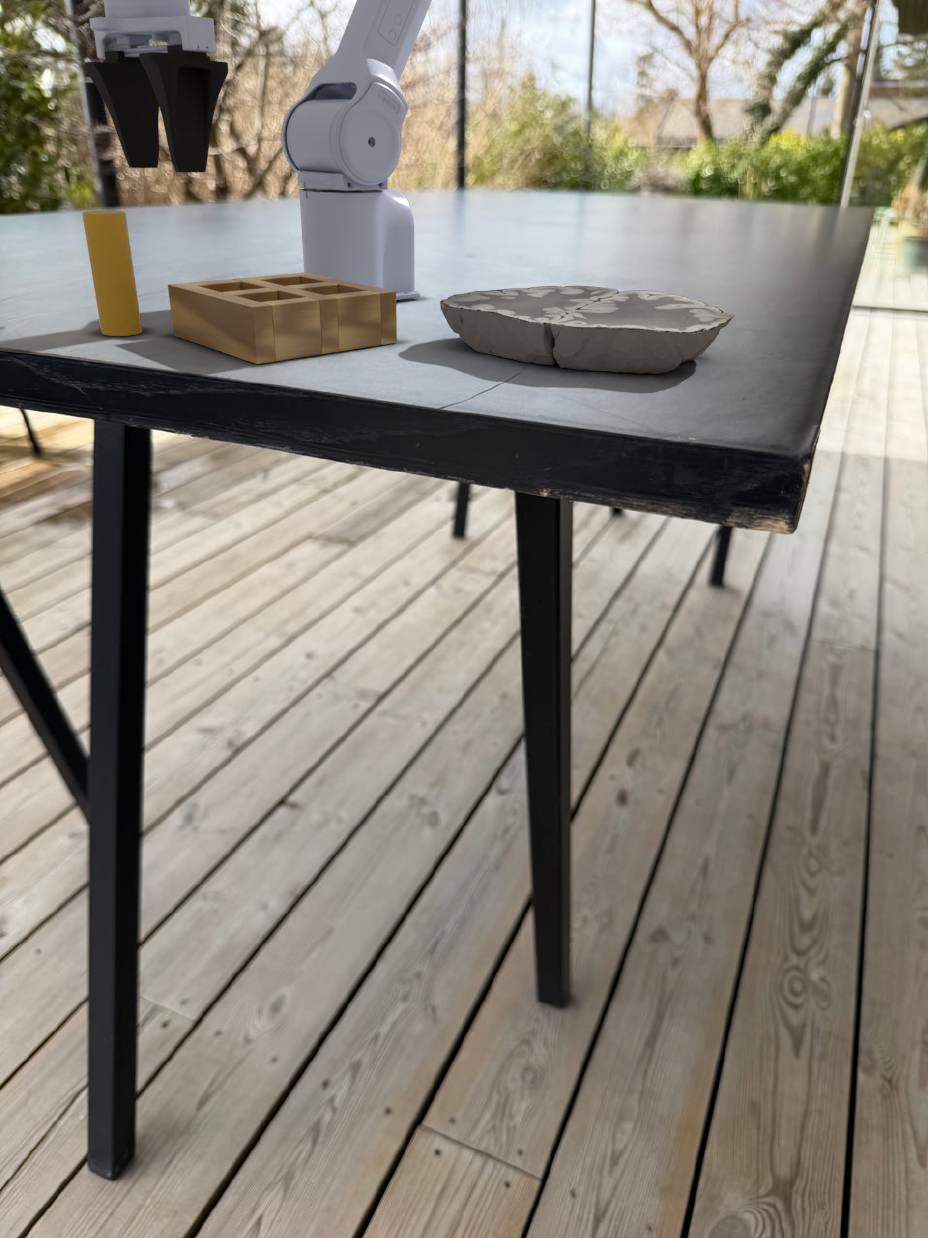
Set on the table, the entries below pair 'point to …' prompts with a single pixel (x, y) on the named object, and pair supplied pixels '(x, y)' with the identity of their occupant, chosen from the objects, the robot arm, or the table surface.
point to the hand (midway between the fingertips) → (166, 169)
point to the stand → (283, 316)
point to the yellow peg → (112, 272)
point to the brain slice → (586, 327)
